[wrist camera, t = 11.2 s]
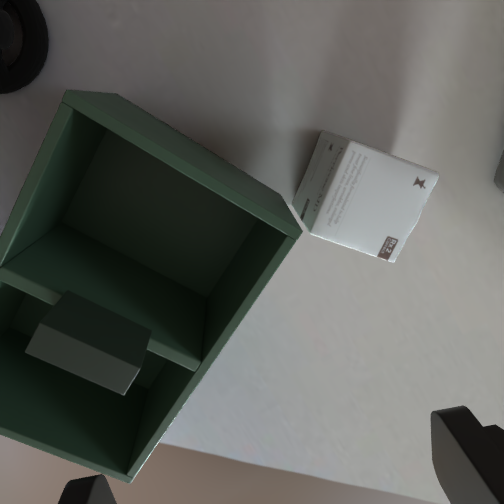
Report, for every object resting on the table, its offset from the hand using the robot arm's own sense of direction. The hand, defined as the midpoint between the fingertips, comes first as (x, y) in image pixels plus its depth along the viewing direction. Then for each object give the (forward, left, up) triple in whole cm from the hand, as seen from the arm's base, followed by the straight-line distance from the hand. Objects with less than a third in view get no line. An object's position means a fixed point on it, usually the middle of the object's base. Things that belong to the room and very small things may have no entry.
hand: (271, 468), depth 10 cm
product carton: (+4, +7, -23) cm, 25 cm away
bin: (-3, -8, -22) cm, 23 cm away
